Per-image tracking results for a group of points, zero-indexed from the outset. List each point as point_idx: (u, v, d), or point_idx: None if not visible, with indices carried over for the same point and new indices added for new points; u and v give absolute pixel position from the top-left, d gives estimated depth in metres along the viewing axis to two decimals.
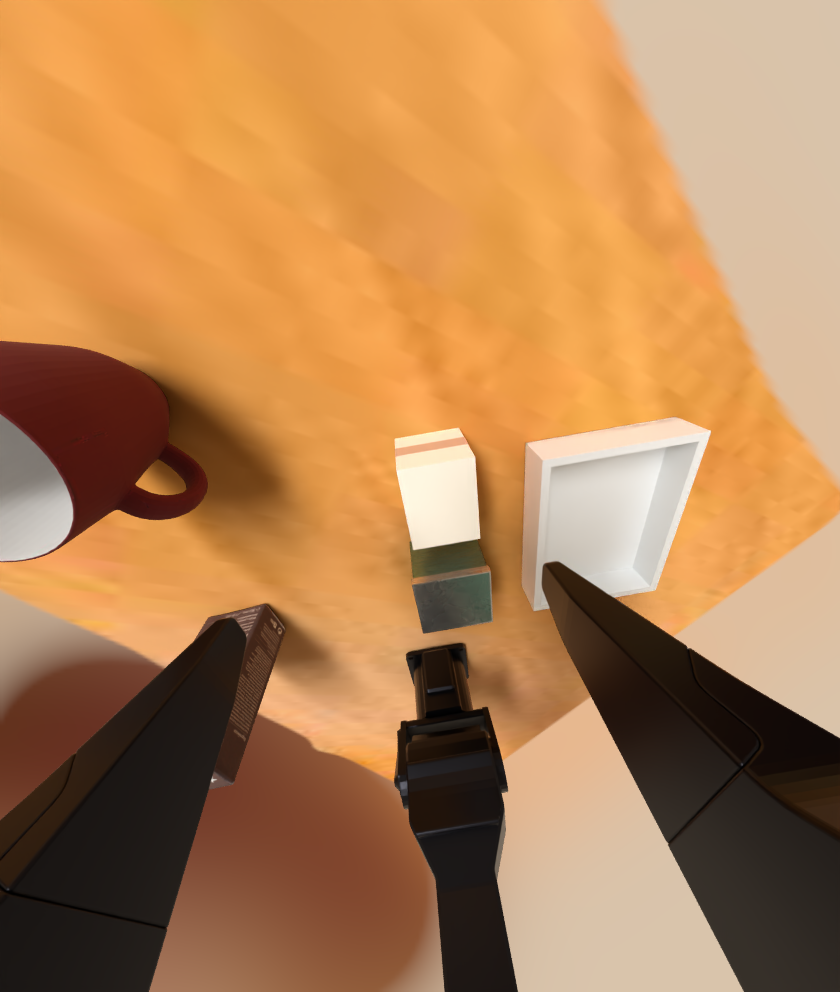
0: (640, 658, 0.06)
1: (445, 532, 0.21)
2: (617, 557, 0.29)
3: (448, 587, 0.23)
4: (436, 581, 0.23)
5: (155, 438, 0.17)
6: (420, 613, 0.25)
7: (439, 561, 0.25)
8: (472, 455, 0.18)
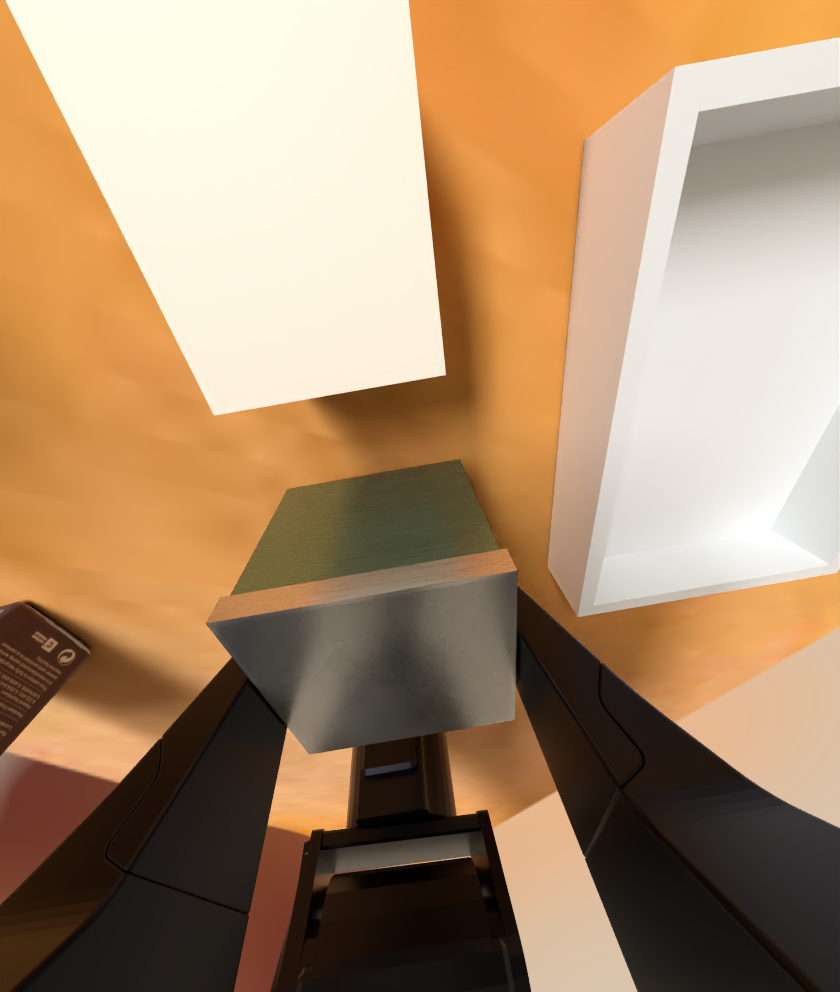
0: (552, 673, 0.06)
1: (314, 337, 0.06)
2: (748, 507, 0.14)
3: (355, 629, 0.06)
4: (303, 612, 0.06)
5: None
6: (280, 709, 0.07)
7: (343, 538, 0.07)
8: None
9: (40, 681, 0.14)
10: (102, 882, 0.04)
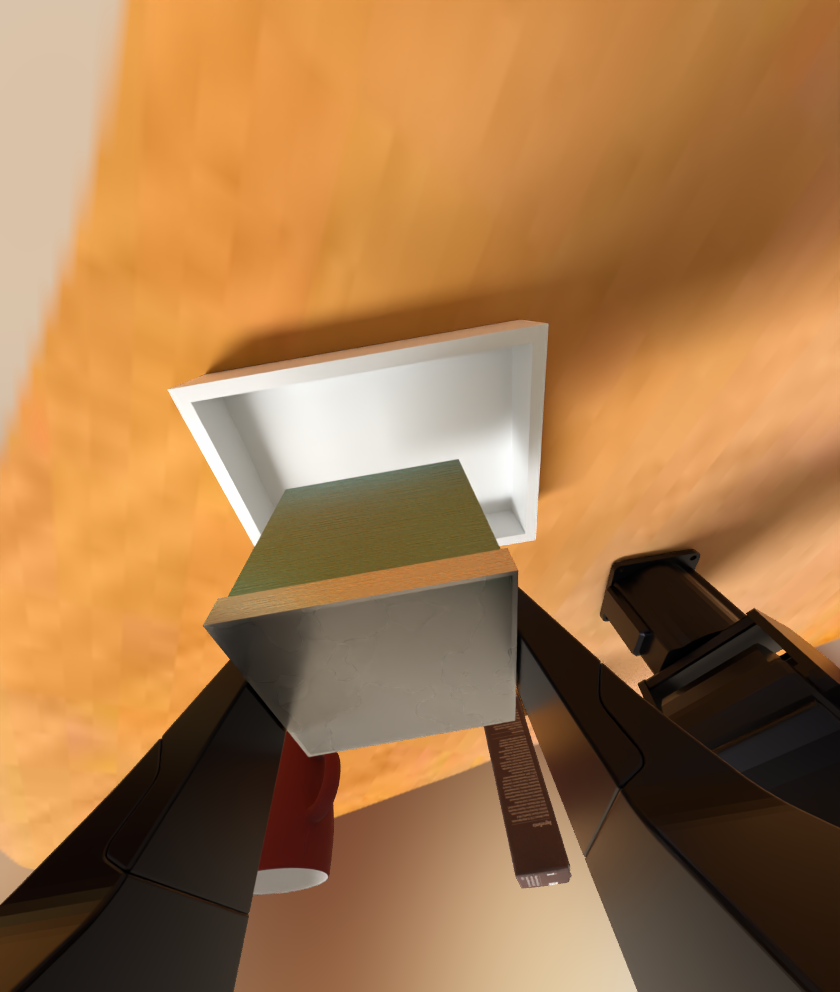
0: (552, 673, 0.06)
1: None
2: (479, 380, 0.16)
3: (355, 630, 0.06)
4: (301, 613, 0.06)
5: (298, 771, 0.28)
6: (279, 712, 0.07)
7: (342, 538, 0.07)
8: None
9: None
10: (102, 882, 0.04)
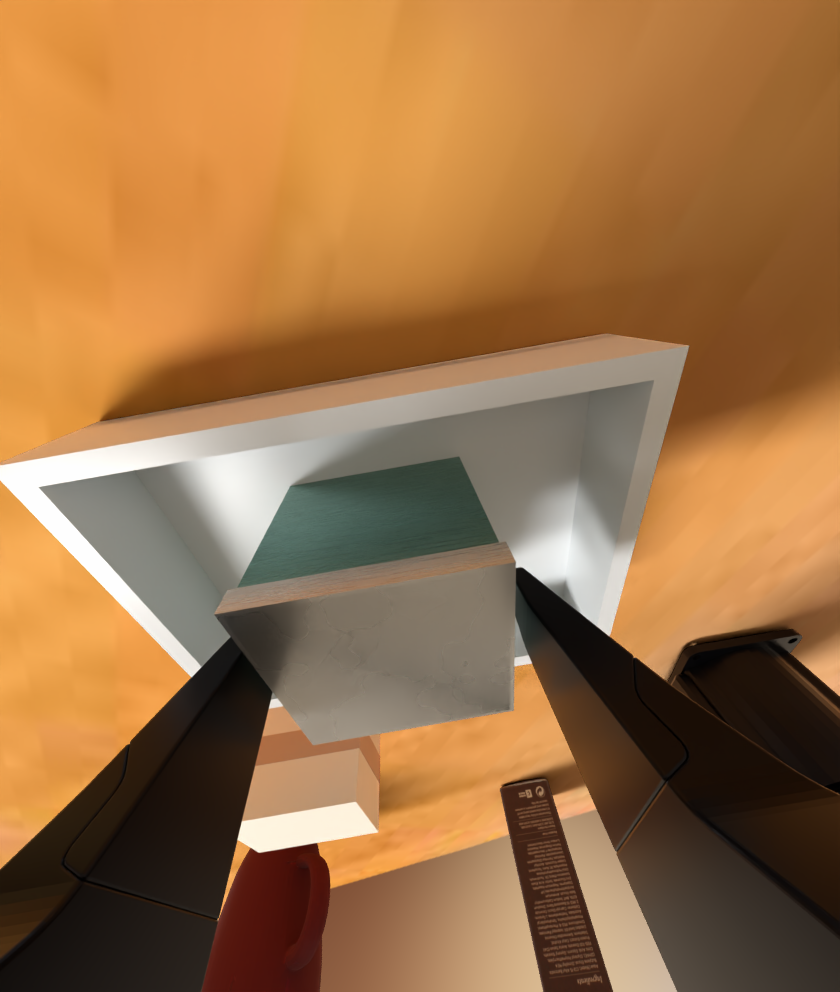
0: (585, 667, 0.06)
1: (346, 821, 0.15)
2: (535, 428, 0.10)
3: (359, 620, 0.06)
4: (308, 602, 0.06)
5: (278, 890, 0.23)
6: (285, 700, 0.08)
7: (346, 532, 0.08)
8: None
9: (544, 811, 0.26)
10: (57, 890, 0.04)
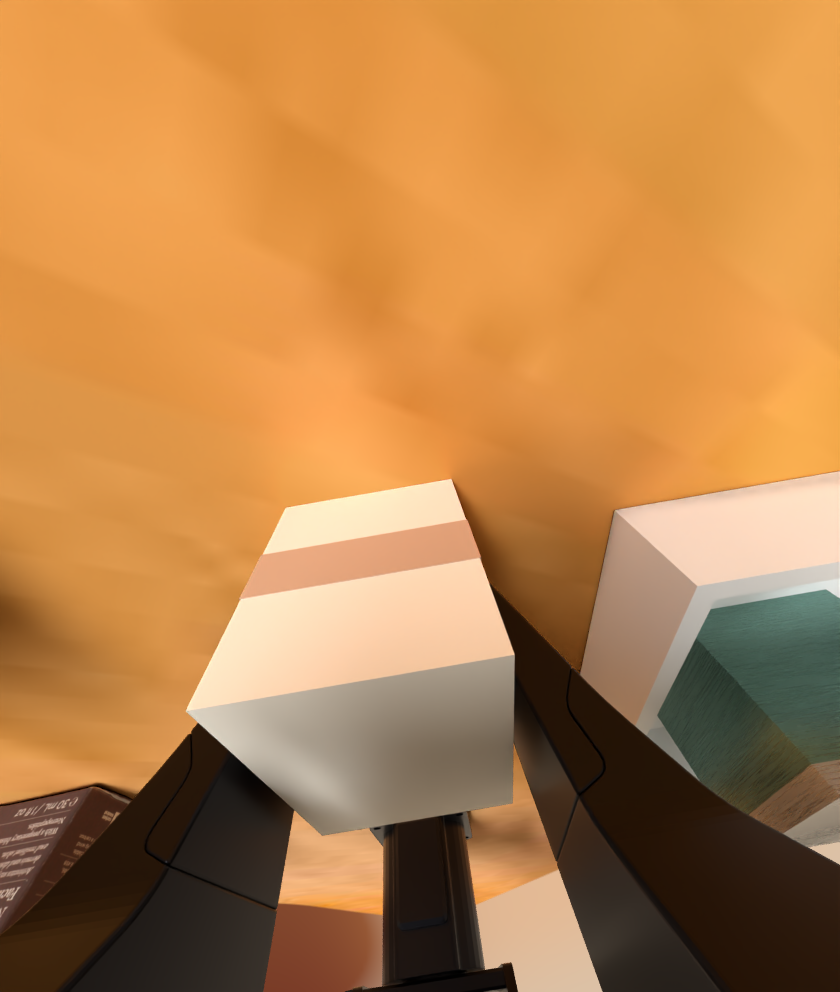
0: (523, 678, 0.06)
1: (411, 804, 0.07)
2: None
3: None
4: None
5: None
6: None
7: None
8: (502, 640, 0.04)
9: None
10: (144, 874, 0.04)
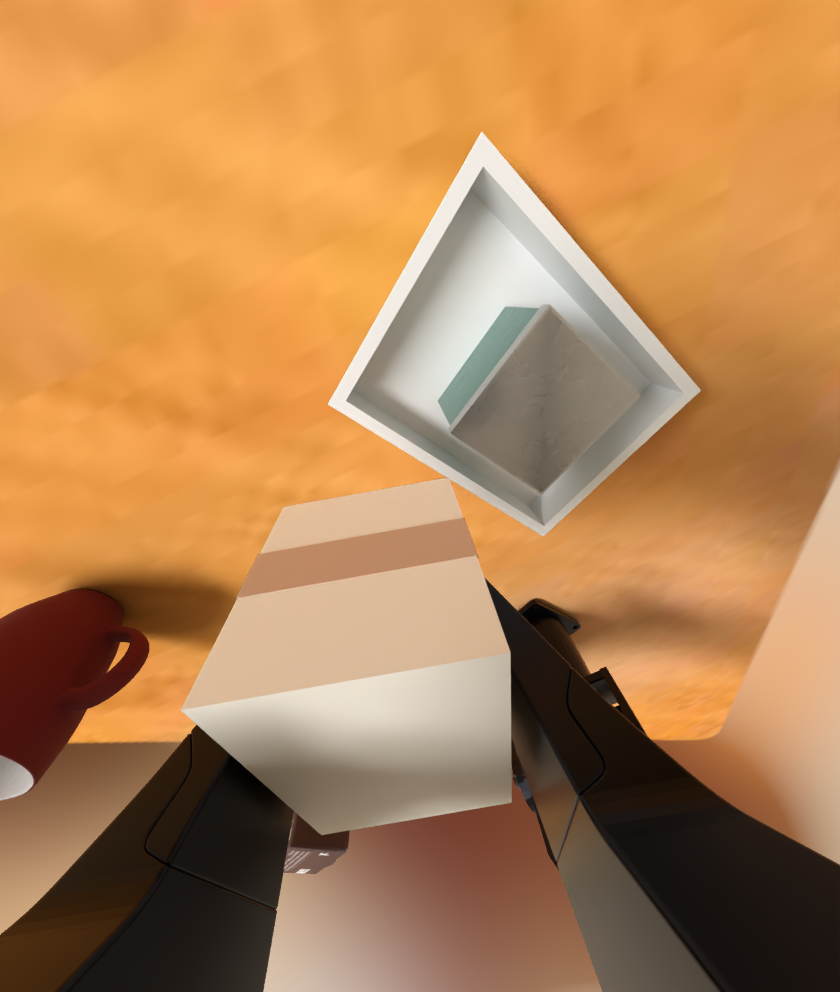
0: (522, 678, 0.06)
1: (409, 804, 0.07)
2: None
3: (576, 368, 0.12)
4: (578, 339, 0.12)
5: (78, 639, 0.20)
6: (491, 385, 0.13)
7: None
8: (498, 638, 0.04)
9: None
10: (144, 874, 0.04)
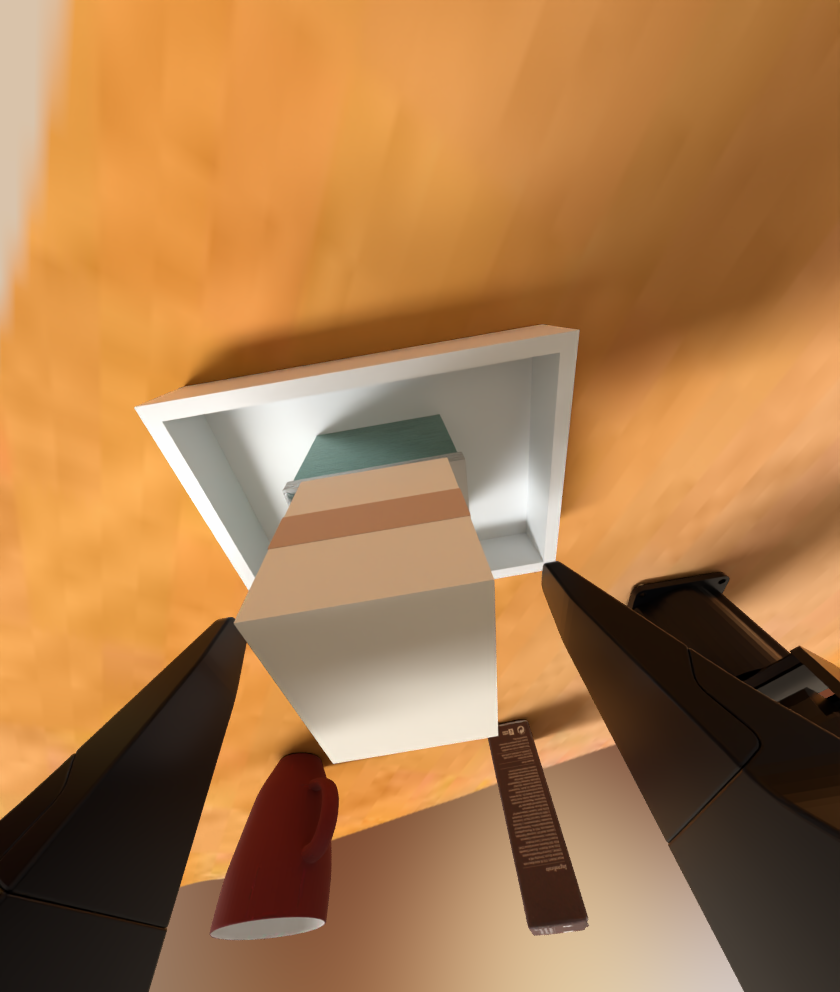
0: (640, 658, 0.06)
1: (410, 732, 0.08)
2: (494, 393, 0.14)
3: None
4: None
5: (294, 804, 0.27)
6: None
7: (360, 455, 0.12)
8: (485, 570, 0.06)
9: (524, 745, 0.29)
10: None
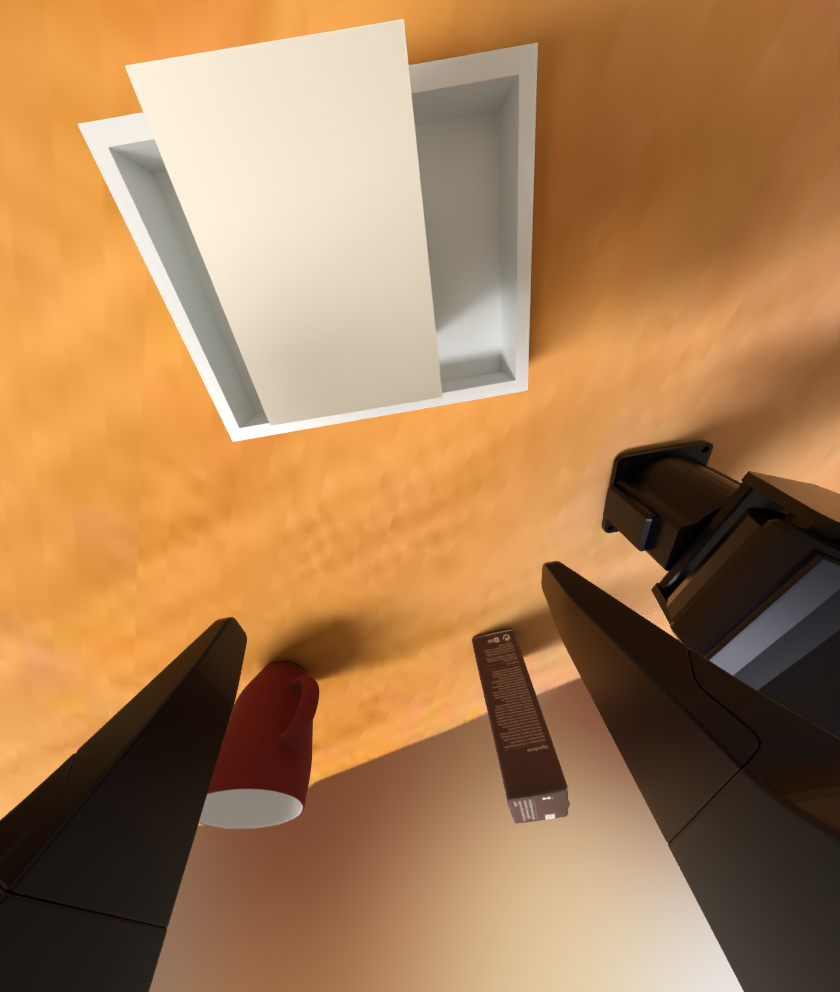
0: (640, 658, 0.06)
1: (347, 370, 0.08)
2: (460, 177, 0.13)
3: None
4: None
5: (274, 699, 0.26)
6: None
7: None
8: None
9: (509, 650, 0.29)
10: None
